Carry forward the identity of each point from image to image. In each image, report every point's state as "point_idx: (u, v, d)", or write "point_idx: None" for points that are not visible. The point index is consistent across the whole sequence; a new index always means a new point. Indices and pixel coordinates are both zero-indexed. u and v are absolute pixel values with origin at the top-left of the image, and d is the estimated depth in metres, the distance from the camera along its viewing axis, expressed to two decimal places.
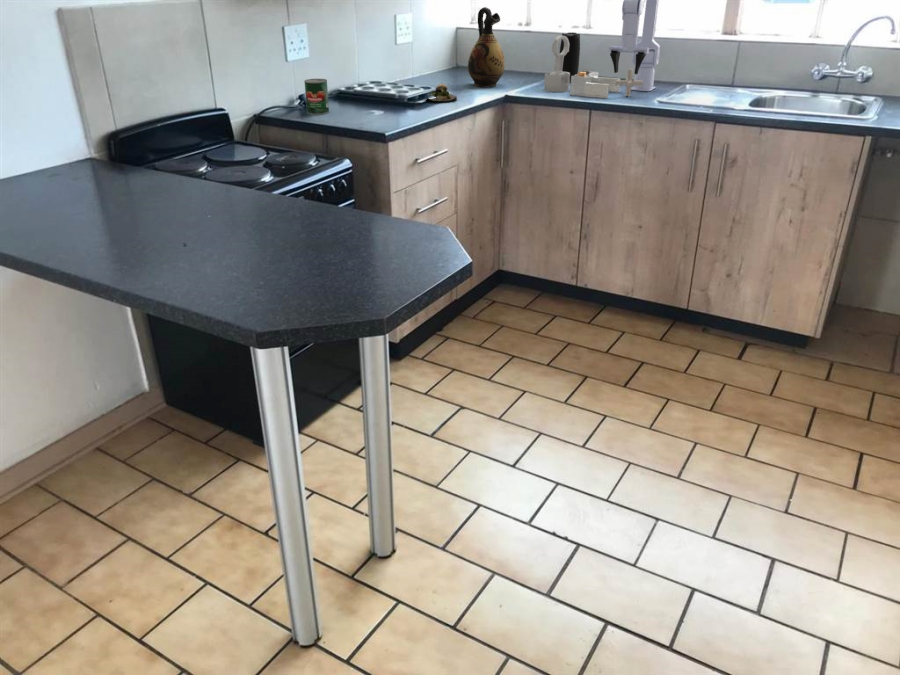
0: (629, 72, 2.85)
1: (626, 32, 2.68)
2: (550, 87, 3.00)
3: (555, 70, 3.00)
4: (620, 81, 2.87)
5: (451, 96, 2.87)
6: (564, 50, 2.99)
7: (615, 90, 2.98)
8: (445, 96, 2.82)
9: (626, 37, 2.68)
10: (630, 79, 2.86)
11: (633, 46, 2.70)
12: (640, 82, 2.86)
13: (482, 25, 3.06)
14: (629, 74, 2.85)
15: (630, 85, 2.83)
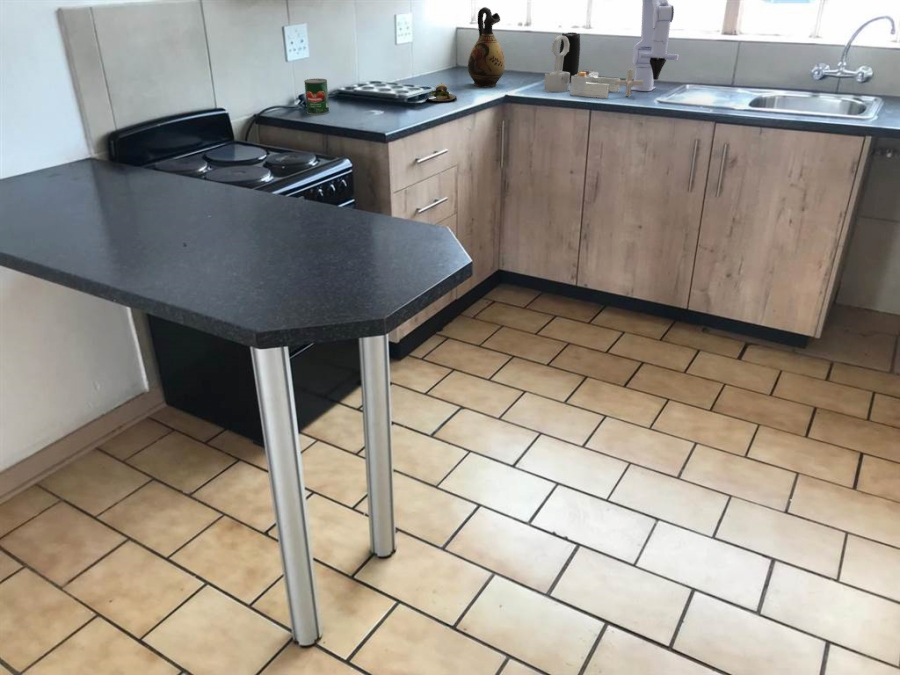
0: (629, 72, 2.85)
1: (660, 39, 2.73)
2: (550, 87, 3.00)
3: (555, 70, 3.00)
4: (620, 81, 2.87)
5: (451, 96, 2.87)
6: (564, 50, 2.99)
7: (615, 90, 2.98)
8: (445, 96, 2.82)
9: (656, 44, 2.74)
10: (630, 79, 2.86)
11: (663, 53, 2.76)
12: (640, 82, 2.86)
13: (482, 25, 3.06)
14: (629, 74, 2.85)
15: (630, 85, 2.83)
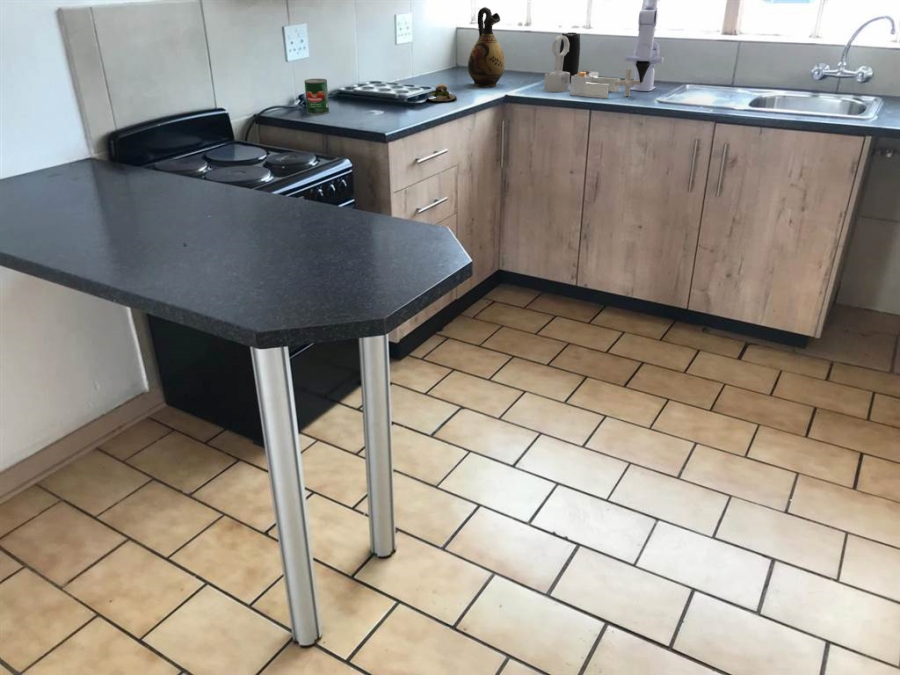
0: (627, 72, 2.85)
1: (643, 43, 2.76)
2: (550, 87, 3.00)
3: (555, 70, 3.00)
4: (619, 81, 2.87)
5: (451, 96, 2.87)
6: (564, 50, 2.99)
7: (615, 90, 2.98)
8: (445, 96, 2.82)
9: (642, 47, 2.77)
10: (629, 79, 2.86)
11: (648, 56, 2.78)
12: (639, 81, 2.86)
13: (482, 25, 3.06)
14: (627, 74, 2.86)
15: (628, 85, 2.83)
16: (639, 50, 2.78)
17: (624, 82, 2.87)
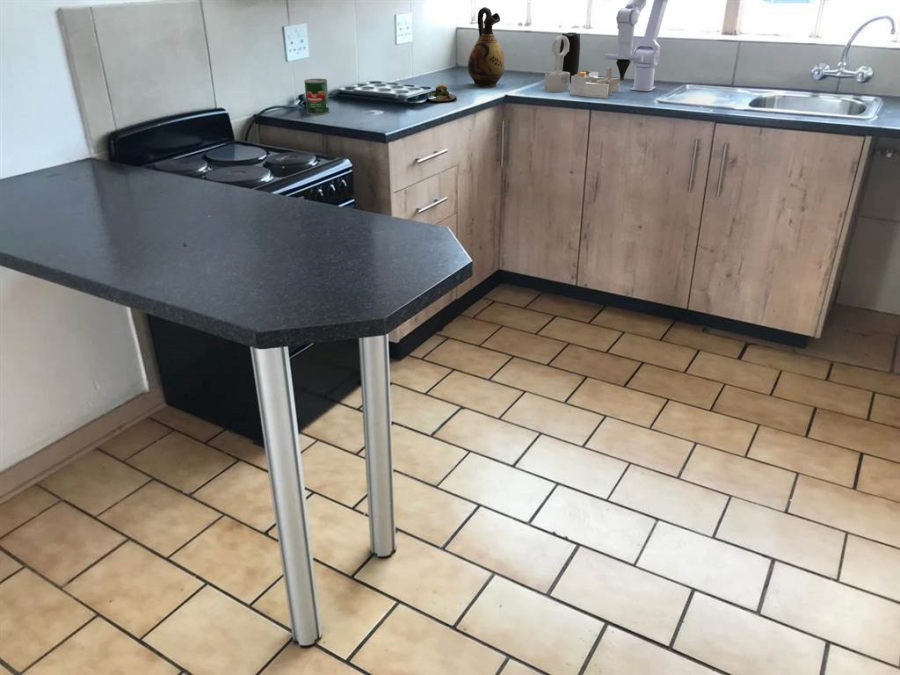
0: (608, 71, 2.88)
1: (620, 41, 2.80)
2: (550, 87, 3.00)
3: (555, 70, 3.00)
4: (600, 81, 2.90)
5: (451, 96, 2.87)
6: (564, 50, 2.99)
7: (615, 90, 2.98)
8: (445, 96, 2.82)
9: (621, 46, 2.80)
10: (610, 78, 2.89)
11: (628, 54, 2.82)
12: None
13: (482, 25, 3.06)
14: (608, 73, 2.88)
15: (611, 83, 2.86)
16: (619, 48, 2.81)
17: (606, 81, 2.89)
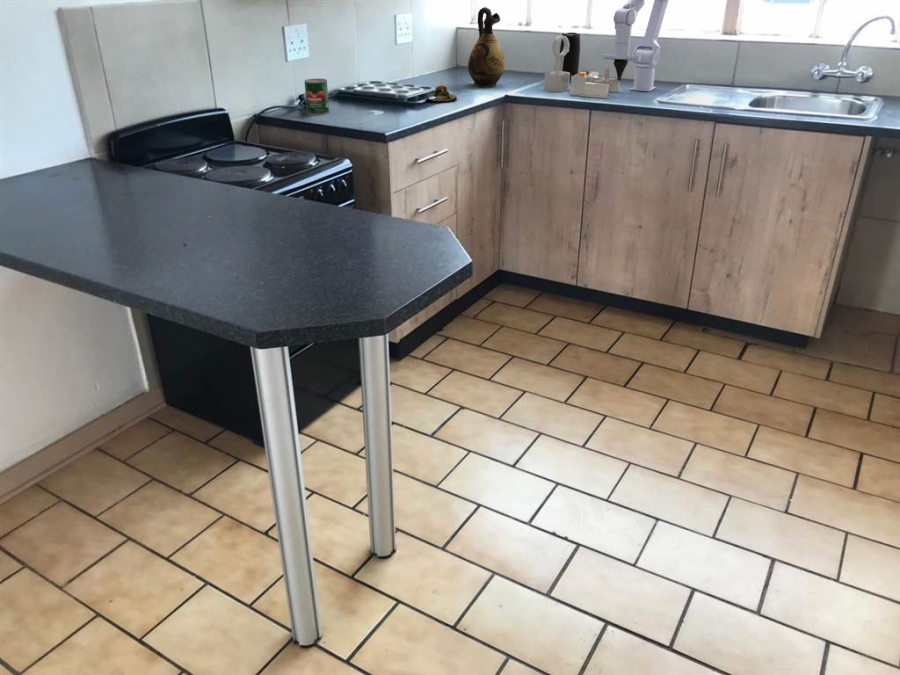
0: (606, 71, 2.88)
1: (617, 41, 2.81)
2: (550, 87, 3.00)
3: (555, 70, 3.00)
4: (598, 81, 2.90)
5: (451, 96, 2.87)
6: (564, 50, 2.99)
7: (615, 90, 2.98)
8: (445, 96, 2.82)
9: (619, 46, 2.81)
10: (607, 77, 2.89)
11: (625, 54, 2.82)
12: (617, 79, 2.90)
13: (482, 25, 3.06)
14: (606, 73, 2.89)
15: (609, 83, 2.86)
16: (616, 48, 2.82)
17: (603, 81, 2.90)
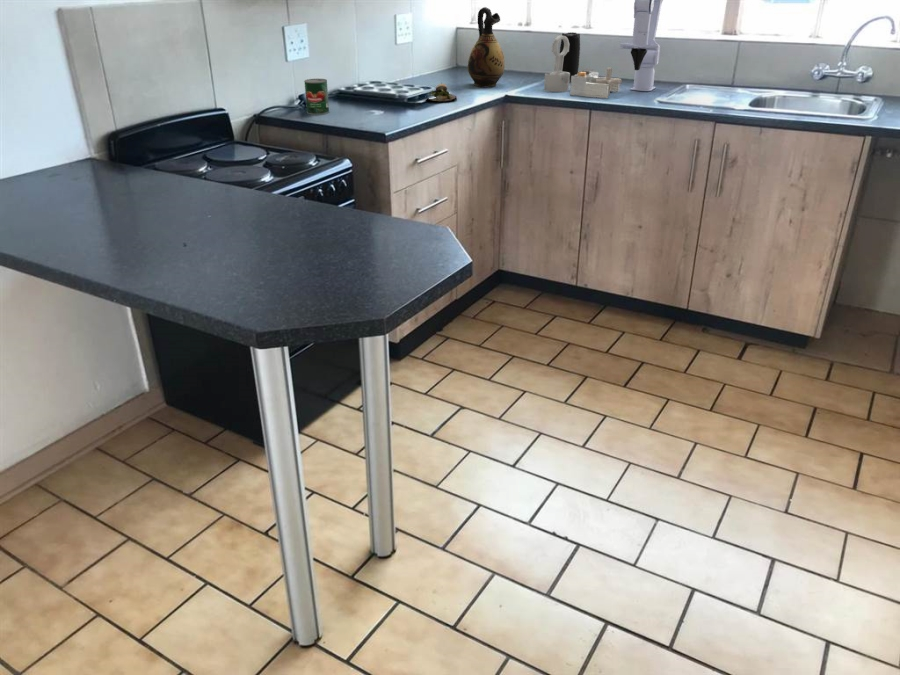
0: (608, 71, 2.88)
1: (638, 30, 2.76)
2: (550, 87, 3.00)
3: (555, 70, 3.00)
4: (600, 80, 2.89)
5: (451, 96, 2.87)
6: (564, 50, 2.99)
7: (615, 90, 2.98)
8: (445, 96, 2.82)
9: (637, 35, 2.77)
10: (609, 78, 2.89)
11: (644, 43, 2.78)
12: (619, 80, 2.90)
13: (482, 25, 3.06)
14: (608, 73, 2.88)
15: (611, 84, 2.86)
16: (635, 37, 2.78)
17: (605, 81, 2.89)
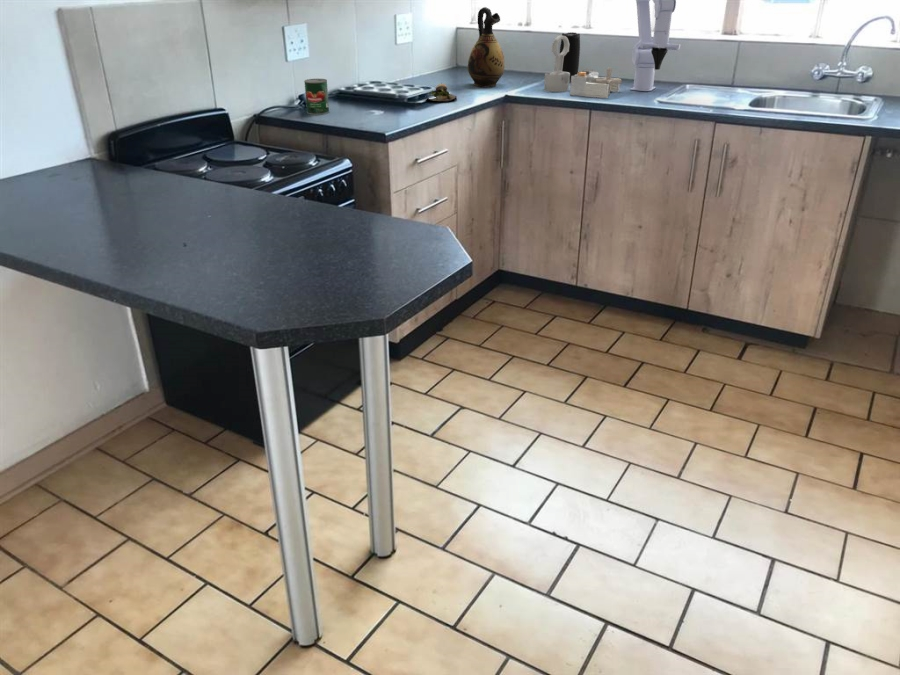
0: (608, 71, 2.88)
1: (663, 29, 2.76)
2: (550, 87, 3.00)
3: (555, 70, 3.00)
4: (600, 80, 2.89)
5: (451, 96, 2.87)
6: (564, 50, 2.99)
7: (615, 90, 2.98)
8: (445, 96, 2.82)
9: (658, 34, 2.77)
10: (609, 78, 2.89)
11: (665, 43, 2.79)
12: (619, 80, 2.90)
13: (482, 25, 3.06)
14: (608, 73, 2.88)
15: (611, 83, 2.86)
16: (656, 37, 2.78)
17: (605, 81, 2.90)
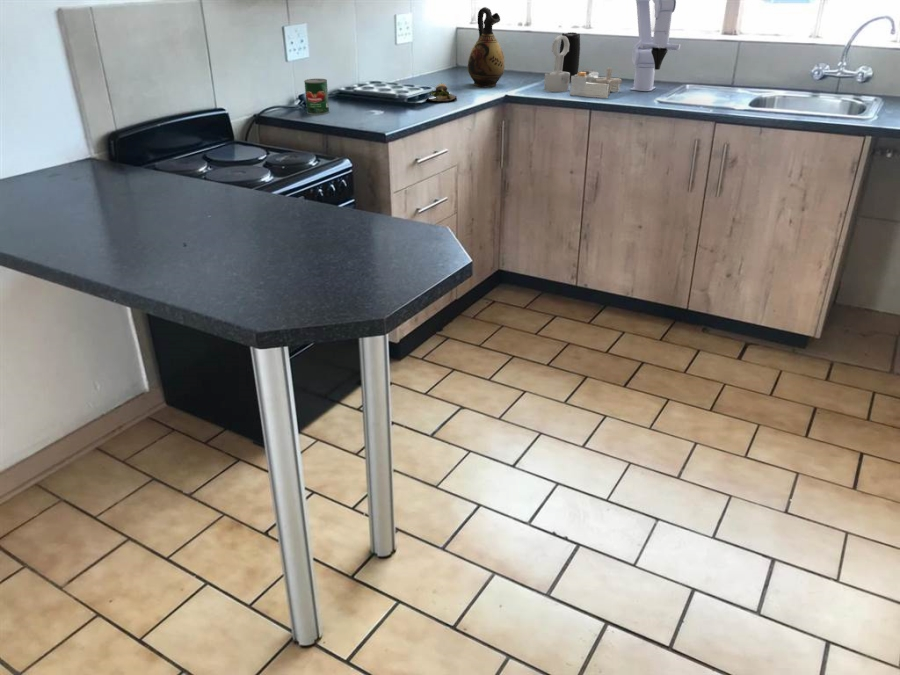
0: (608, 71, 2.88)
1: (663, 29, 2.76)
2: (550, 87, 3.00)
3: (555, 70, 3.00)
4: (600, 80, 2.89)
5: (451, 96, 2.87)
6: (564, 50, 2.99)
7: (615, 90, 2.98)
8: (445, 96, 2.82)
9: (658, 34, 2.77)
10: (609, 78, 2.89)
11: (665, 43, 2.79)
12: (619, 80, 2.90)
13: (482, 25, 3.06)
14: (608, 73, 2.88)
15: (611, 83, 2.86)
16: (656, 37, 2.78)
17: (605, 81, 2.89)
